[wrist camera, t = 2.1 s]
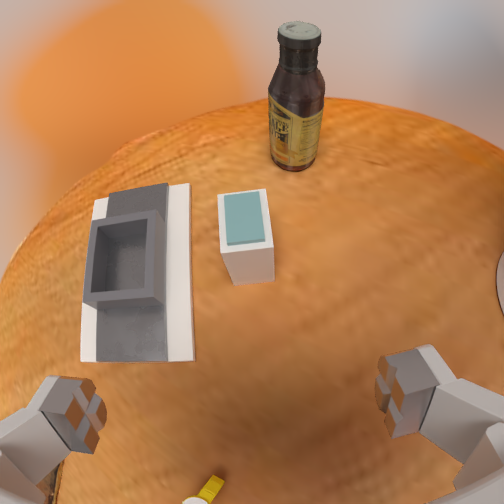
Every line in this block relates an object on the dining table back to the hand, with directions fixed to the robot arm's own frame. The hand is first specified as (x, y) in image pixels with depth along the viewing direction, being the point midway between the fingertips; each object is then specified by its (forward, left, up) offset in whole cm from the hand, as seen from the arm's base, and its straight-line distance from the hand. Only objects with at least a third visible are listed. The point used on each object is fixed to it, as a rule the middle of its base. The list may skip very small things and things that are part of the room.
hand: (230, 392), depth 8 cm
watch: (+7, +12, -25) cm, 29 cm away
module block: (0, -14, -25) cm, 29 cm away
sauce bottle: (-7, -28, -25) cm, 39 cm away
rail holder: (+14, -14, -25) cm, 32 cm away
